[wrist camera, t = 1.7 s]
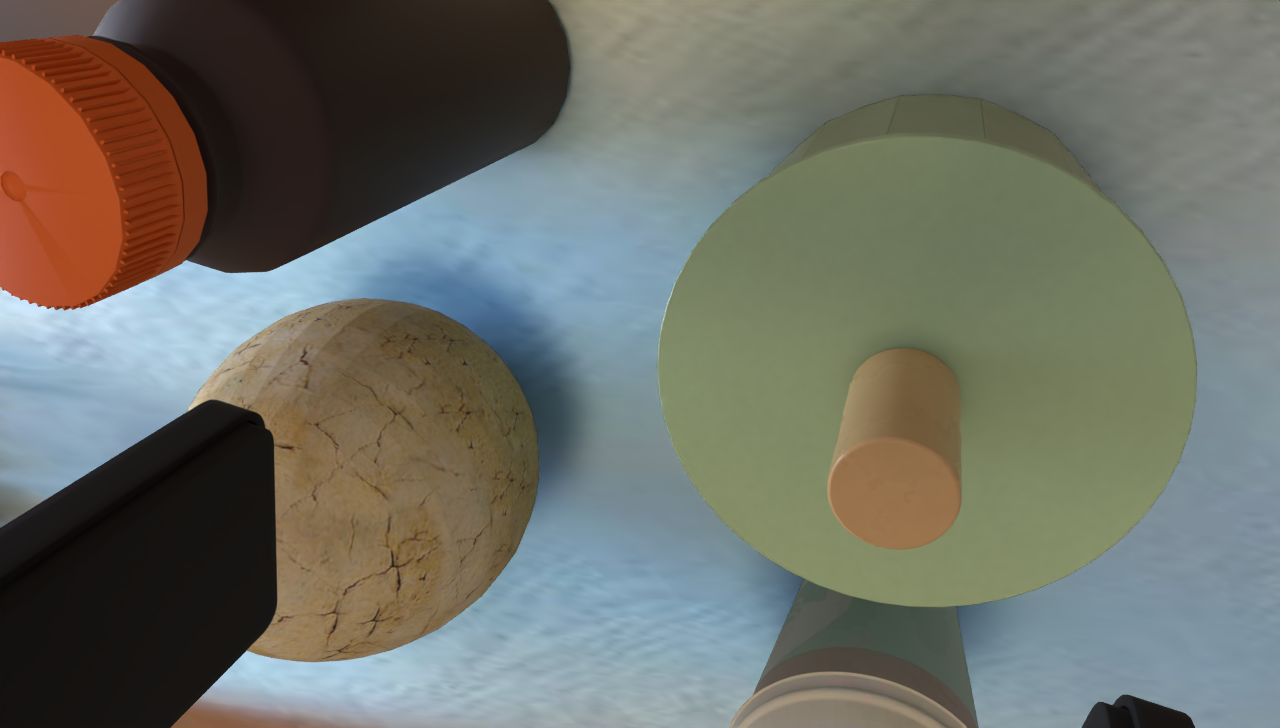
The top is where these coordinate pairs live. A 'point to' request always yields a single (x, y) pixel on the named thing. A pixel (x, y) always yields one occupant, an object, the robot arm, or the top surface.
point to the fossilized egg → (382, 471)
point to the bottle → (252, 129)
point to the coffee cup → (862, 667)
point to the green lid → (927, 370)
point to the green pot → (940, 127)
